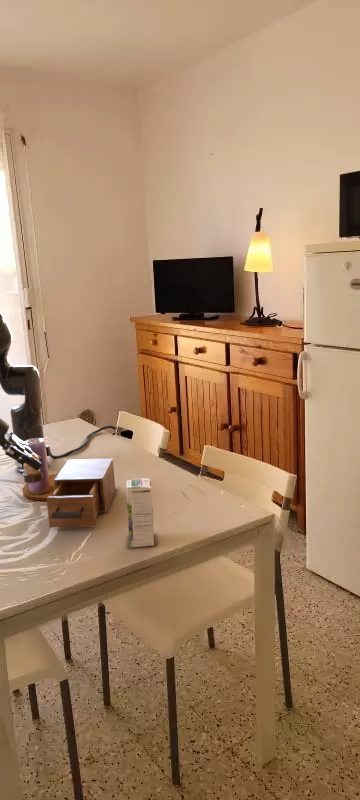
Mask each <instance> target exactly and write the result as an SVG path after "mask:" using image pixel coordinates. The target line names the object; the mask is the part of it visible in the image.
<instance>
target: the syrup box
mask: <svg viewBox="0 0 360 800" xmlns="http://www.w3.org/2000/svg"><path fill="white" fill-rule="evenodd" d="M153 509H154V507H153V491H152V481H151V478H133V479H127V480H126V511H127V512H126V513H127V523H128V525H127V528H128V541H129V542H128V543H129V548H130V549H131V548H142V547H152V546H153V547H154V546H155V530H154V510H153Z"/></svg>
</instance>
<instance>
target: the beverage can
mask: <svg viewBox="0 0 360 800" xmlns="http://www.w3.org/2000/svg"><path fill="white" fill-rule="evenodd" d="M24 443H26V444H27V445H28V447H29V448H30V450H31V451H32V452H34V453H35V454H37V455H38V456H39V457H41V461H40V462H41V463H42V466H41V467H40V470H41V471H42V477H43V479H42V480H41V481H39V482H36V483H27V484H28V491H29V492H30V493H31V494H35V495H40V494H44V493H48V491H49V490H50V488H51V482H50V474H49V473H50V472H49V465H48V464H49V463H48V456H47V454H46V445H47V444H46V442H45V438H44V439H42V438H32V439H28V440H26V441H24Z"/></svg>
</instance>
